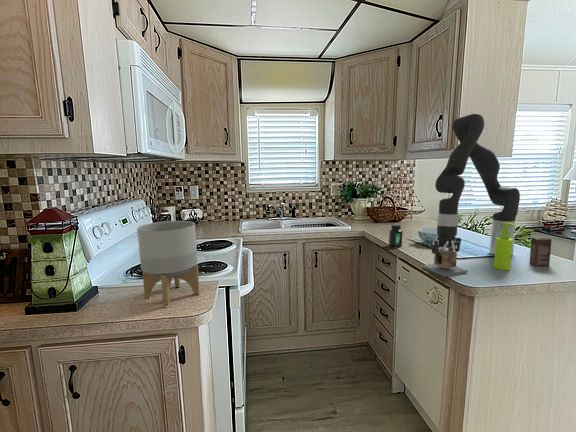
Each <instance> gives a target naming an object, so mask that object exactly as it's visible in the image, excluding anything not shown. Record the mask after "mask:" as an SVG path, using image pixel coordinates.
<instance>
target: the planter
mask: <svg viewBox="0 0 576 432" xmlns="http://www.w3.org/2000/svg"><path fill="white" fill-rule="evenodd" d="M136 231H137V240H138V241H137V242H138V251H139V252H138V253H139V261H140V269H141V271H142V281H143V293H144V298H145V297H150V296H151V295H152V294H153V293H152V292H153V289H154V287H155V286H156V285H157V283H159V282H161V293H162V304H163V305H162V306H163V307H164V306H168V305H169V304H170V305H171V301H170V296H171V295H170V293H171V284H172V281H174V287H180V288H181V280H182V281H184V282H186V283H187V284H188V286H190V288H191V290H192V292H193V293H192V294H193V295H194V294H199V293H200V292H201V290H200V279H199V266H198V265H199V264H198V261H199V260H198V248H197V247H198V246H197V234H196V223H195V222H194V221H189V220H168V221H167V220H166V221H157V222H150V223H146V224H145V223H144V224H143V225H140V226H137V228H136ZM199 295H200V294H199ZM170 305H169V306H170Z"/></svg>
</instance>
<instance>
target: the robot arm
mask: <svg viewBox="0 0 576 432" xmlns="http://www.w3.org/2000/svg"><path fill="white" fill-rule="evenodd" d="M484 128H485V119H484V117H483V115H482V114H481V113H478V112H474V113H473V112H472V113H471V114H467V115H464V116H461V117H458V118H455V119H454V120H453V122H452V130H453V133H454V136H455V137H456V139H457V140H458V141H459V144H458V145H457V146H456V147H455V148H454V149H453V150H452V152H451V153H450V155H449V157H448V160H447V162H446V166H445V167H444V169H443V170H442V171H441V173H440V174H439V175H438V176H437V179H436V181H435V185H434V186H435V187H434V188H435V190H436V191H437V192H438V193H441V194H451V196H450V197H447V198H442V199H440V200H439V203H438V214H437V225H436V228H437V234H438V238H437V240H431V245H430V246H431V253H432V254H436V263H438V264H441V261H442V256H441V255H442V253H443V251H445V249H446V250H449V251H452V252H456V253H459V252H460V248H461V243H462V238H461V237H457V235H458V222H459V217H458V213H459V211H458V210H459V203H460V202H459V201H460V198H461V196H462V194H463V192H464V189H465V183H466V182H465V179H464V178H463V177H462V176H461V175H463V174H464V173H465V169H466V166H467V164H468V161H469V159H470V160H471V162H472V164H473V167H474V168H475V170H476V172H477V173H478V175H479V177H480V179H481V180H482V182H483V185H484V187H485V189H486V192H487V195H488V197H489V200H490V202H491V203H492V204H493V205H496V206H501V207H503V208H502V210H501V211H498V212H495V213H493V214H492V222H491V230H490V231H491V233H490V243H489V253H490V254H491V255H493V254H495V247H496V238H497V237H500V231H501V230H502V229H503V224H501V223H513V224H516V217H517V215H518V212H519V207H520V206H519V205H520V199H521V193H520V190H519V189H518V188H517V187H509V186H503V185H501V183H500V182H499V180H498V175H499V172H500V167H501V165H500V161H499V160H498V158H497V155H496V154H495V152H493V151H492V150H491V149H490V148H488V147H486V146H485V145H483V144H481V143H479V142H478V140H479V139H480V137H481V135H482V134H483V131H484ZM515 227H516V226H511V225H508V230H509V231H510V237H509V238H511V239H513V244H512V254H511V256H512V255H514V248H515V238H516V237H515V229H516V228H515ZM439 251H440V252H439Z"/></svg>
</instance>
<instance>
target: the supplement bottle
mask: <svg viewBox="0 0 576 432" xmlns="http://www.w3.org/2000/svg"><path fill="white" fill-rule="evenodd" d="M390 228H391V229H389V235H388V236H389V237H388V246H389V248H395V249H398V248H400V249H401V248H402V247H403V231H402V229H401V228H402V225H401V224H397V223H395V224H391V227H390Z"/></svg>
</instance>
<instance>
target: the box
mask: <svg viewBox="0 0 576 432" xmlns="http://www.w3.org/2000/svg"><path fill="white" fill-rule="evenodd" d="M551 249H552V239H551V238H549V237H531V238H530V253H529V264H530V265H532V266H535V267H539V266H540V267H541V266H543V267H545V266H550V263H551V261H550V260H551V252H552V250H551Z"/></svg>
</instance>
